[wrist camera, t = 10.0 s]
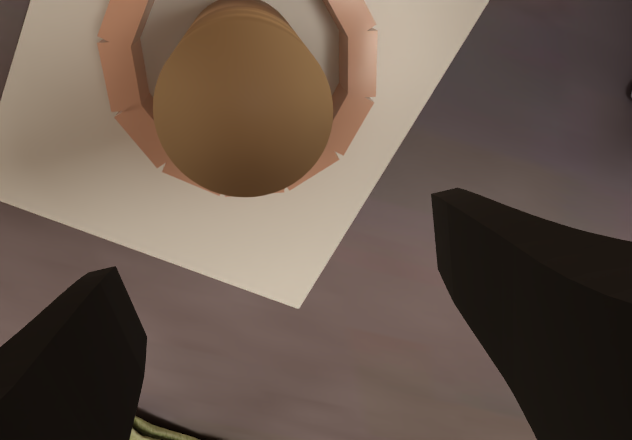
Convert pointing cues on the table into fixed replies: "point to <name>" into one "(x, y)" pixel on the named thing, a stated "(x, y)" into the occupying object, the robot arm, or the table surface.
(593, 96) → the table surface
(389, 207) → the table surface
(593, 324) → the robot arm
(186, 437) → the washcloth
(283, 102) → the wooden peg
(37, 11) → the socket board
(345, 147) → the collar
